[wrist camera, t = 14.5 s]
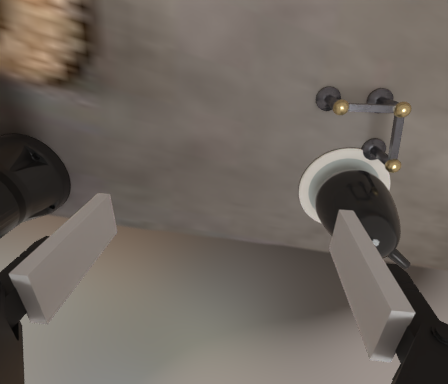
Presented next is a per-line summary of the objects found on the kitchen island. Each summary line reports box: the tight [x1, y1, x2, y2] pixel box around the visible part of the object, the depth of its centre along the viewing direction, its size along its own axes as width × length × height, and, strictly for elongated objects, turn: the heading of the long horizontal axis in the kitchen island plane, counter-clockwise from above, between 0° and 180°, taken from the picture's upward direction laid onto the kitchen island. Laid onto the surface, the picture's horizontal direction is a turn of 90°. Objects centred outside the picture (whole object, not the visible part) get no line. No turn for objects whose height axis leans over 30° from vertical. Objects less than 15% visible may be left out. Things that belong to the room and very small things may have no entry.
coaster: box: [299, 148, 390, 223], centre depth 45 cm, size 14×14×1 cm
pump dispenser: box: [315, 170, 410, 269], centre depth 38 cm, size 10×10×15 cm
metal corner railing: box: [316, 87, 411, 173], centre depth 37 cm, size 11×10×8 cm
